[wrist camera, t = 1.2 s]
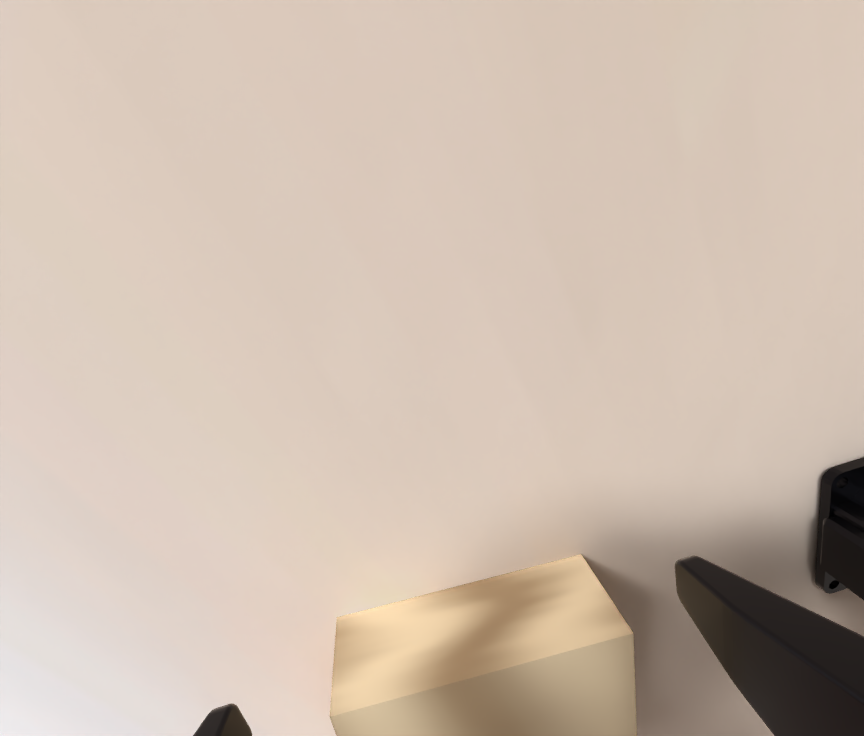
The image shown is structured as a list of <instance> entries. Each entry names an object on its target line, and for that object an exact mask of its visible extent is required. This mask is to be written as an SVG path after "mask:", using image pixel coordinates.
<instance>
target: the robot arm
mask: <svg viewBox="0 0 864 736" xmlns="http://www.w3.org/2000/svg"><path fill="white" fill-rule="evenodd" d="M675 574H676V586H677V593H678V596H679V599H680V601H681V603H682V604H683V606H684V607H685V609H686V610H687V612H688V614H689V615H690V617H691V618H692V620H693V621H694V623H695V624H696V626H697V627H698V629H699V631H700V632H701V634H702V635H703V637H704V638H705V640H706V641H707V643H708V644H709V646H710V647H711V649H712V651H713V652H714V654H715V655H716V657H717V658H718V660H719V661H720V663H721V664H722V666H723V667H724V669H725V670H726V672H727V673H728V675H729V676H730V678H731V679H732V681H733V682H734V684H735V685H736V686H737V688H738V689H739V690H740V692H741V693H742V694H743V696H744V697H745V698H746V700H747V701H748V702H749V703H750V705H751V706H752V707H753V709H754V710H755V711H756V712H757V714H758V715H759V716H760V718H761V719H762V720H763V721H764V723H765V724H766V725H767V727H768V728H769V729H770V730H771V732H772V733H773V734H774V736H864V636H862V635H860V634H858V633H856V632H853V631H851V630H849V629H847V628H845V627H843V626H841V625H839V624H837V623H835V622H833V621H831V620H829V619H827V618H825V617H822V616H820V615H818V614H816V613H814V612H812V611H810V610H808V609H806V608H804V607H802V606H800V605H798V604H796V603H794V602H792V601H789V600H787V599H785V598H783V597H781V596H779V595H777V594H775V593H773V592H771V591H769V590H767V589H765V588H763V587H761V586H759V585H756V584H754V583H752V582H750V581H748V580H746V579H744V578H742V577H740V576H738V575H736V574H734V573H732V572H730V571H728V570H725V569H723V568H721V567H719V566H717V565H715V564H713V563H711V562H709V561H707V560H705V559H703V558H701V557H698V556H689V557H686V558H683V559H680V560H678V561H676V563H675ZM815 582H816V585H817V586H819V587H820V588H821V589H822V590H824V591H825V592H826V593H834V592H837V591H840V590H843V589H846V588H848V589H850V590H851V591H852V592H854V593H855V594H856V595H858V596H859V597H860V598H862V599H863V600H864V458H862V459H858V460H855V461H852V462H849V463H846V464H843V465H839V466H836V467H833V468H831V469H829V470H828V471H827V472H826V473H825V474H824V476H823V478H822V484H821V500H820V516H819V531H818V547H817V563H816V579H815ZM193 736H252V732H251V729H250V727H249V726H248V724H247V722H246V720H245V719H244V717H243V715H242V714H241V712H240V710H239V708H238V707H237V706H236V705H235V704H228V705H225V706H222V707H218V708H216V709H214V710H212V711H211V712H210V713H209V714H208V715H207V717H206V718H205V720H204V721H203V722H202V724H201V725H200V727H199V728H198V730H197V731H196V732H195V734H194V735H193Z"/></svg>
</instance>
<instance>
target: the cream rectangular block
mask: <svg viewBox="0 0 864 736" xmlns="http://www.w3.org/2000/svg"><path fill="white" fill-rule="evenodd" d="M330 719H331V722H332V724H333V727H334V730H335V733H336V735H337V736H637V726H636V696H635V665H634V635H633V632H632V630H631V629H630V627H629V626H628V624H627V623H626V621H625V620H624V618H623V617H622V615H621V614H620V612H619V611H618V609H617V608H616V606H615V605H614V603H613V601H612V600H611V598H610V597H609V595H608V594H607V592H606V591H605V589H604V588H603V586H602V585H601V583H600V582H599V580H598V579H597V577H596V576H595V574H594V573H593V571H592V570H591V568H590V567H589V565H588V564H587V562H586V561H585V559H584V558H583V556H582V555H577V556H573V557H569V558H565V559H561V560H557V561H553V562H550V563H546V564H542V565H538V566H534V567H530V568H526V569H522V570H519V571H515V572H511V573H507V574H503V575H499V576H495V577H491V578H488V579H484V580H480V581H476V582H472V583H468V584H464V585H460V586H457V587H453V588H449V589H445V590H441V591H437V592H433V593H429V594H425V595H422V596H418V597H414V598H410V599H406V600H402V601H398V602H394V603H391V604H387V605H383V606H379V607H375V608H371V609H367V610H363V611H360V612H356V613H352V614H348V615H344V616H340V617H337V622H336V636H335V650H334V664H333V678H332V692H331V706H330Z"/></svg>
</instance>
